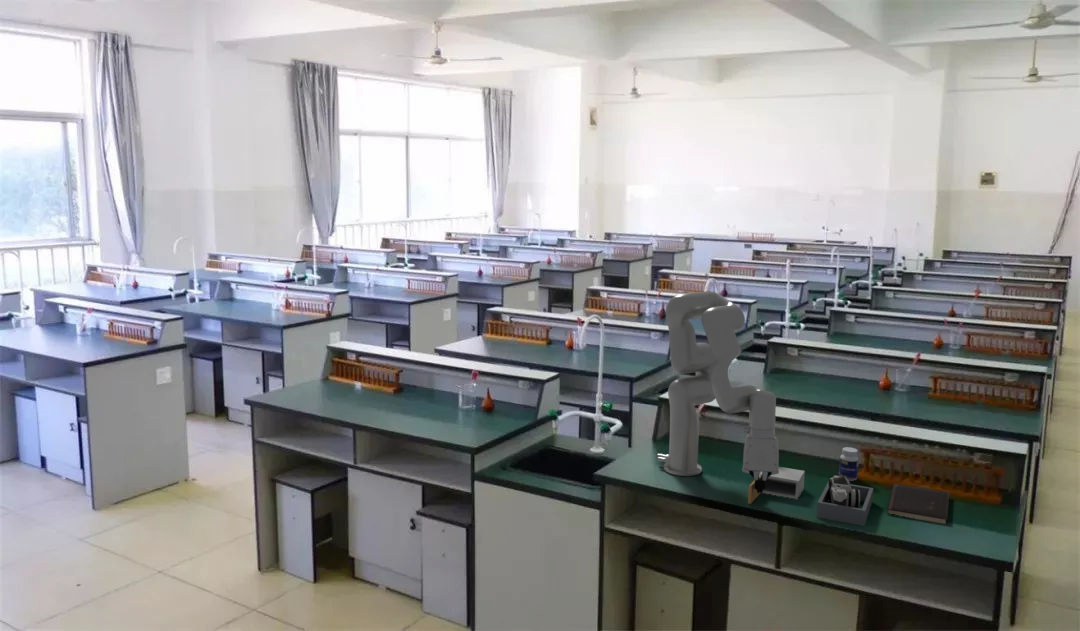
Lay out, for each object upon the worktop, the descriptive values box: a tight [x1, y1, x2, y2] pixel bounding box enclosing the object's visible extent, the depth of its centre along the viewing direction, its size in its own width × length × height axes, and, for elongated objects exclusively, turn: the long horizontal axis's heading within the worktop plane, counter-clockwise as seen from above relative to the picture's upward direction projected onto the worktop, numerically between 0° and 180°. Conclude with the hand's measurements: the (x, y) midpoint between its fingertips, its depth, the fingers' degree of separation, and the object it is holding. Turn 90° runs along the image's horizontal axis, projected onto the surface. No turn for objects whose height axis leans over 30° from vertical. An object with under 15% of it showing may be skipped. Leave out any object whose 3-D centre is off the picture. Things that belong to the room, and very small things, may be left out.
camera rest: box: [816, 480, 874, 527], centre depth 250 cm, size 13×20×4 cm, turn 152°
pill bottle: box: [838, 446, 860, 482], centre depth 275 cm, size 6×6×10 cm
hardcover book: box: [886, 483, 950, 525], centre depth 254 cm, size 16×23×2 cm
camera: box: [828, 475, 861, 509], centre depth 249 cm, size 16×9×10 cm, turn 166°
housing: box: [758, 466, 806, 500], centre depth 264 cm, size 12×10×6 cm
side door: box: [747, 474, 762, 505], centre depth 258 cm, size 11×1×6 cm, turn 149°
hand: (759, 491), depth 254 cm, fingers closed
